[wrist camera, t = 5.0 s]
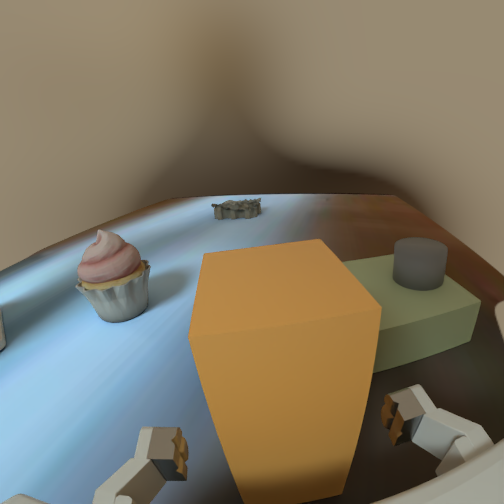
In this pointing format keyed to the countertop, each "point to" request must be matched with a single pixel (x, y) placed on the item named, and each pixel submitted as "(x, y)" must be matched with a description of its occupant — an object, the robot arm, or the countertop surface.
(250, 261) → the tall orange pillar
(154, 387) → the countertop surface
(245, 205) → the rocky terrain model
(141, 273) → the cupcake
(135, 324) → the countertop surface
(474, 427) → the robot arm
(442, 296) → the green drawer box
